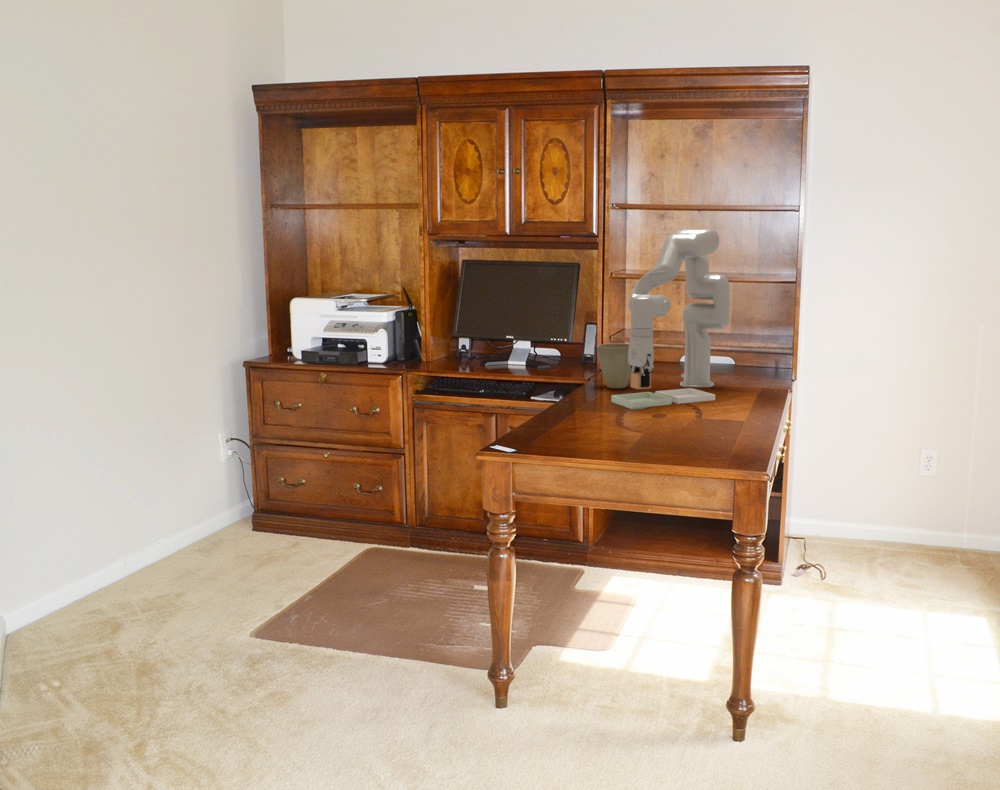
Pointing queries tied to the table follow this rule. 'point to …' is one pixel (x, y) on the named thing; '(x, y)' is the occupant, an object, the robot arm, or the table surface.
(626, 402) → the green tray
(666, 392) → the white tray
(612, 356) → the plant pot
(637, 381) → the brown cube
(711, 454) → the table surface
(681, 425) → the table surface
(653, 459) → the table surface
